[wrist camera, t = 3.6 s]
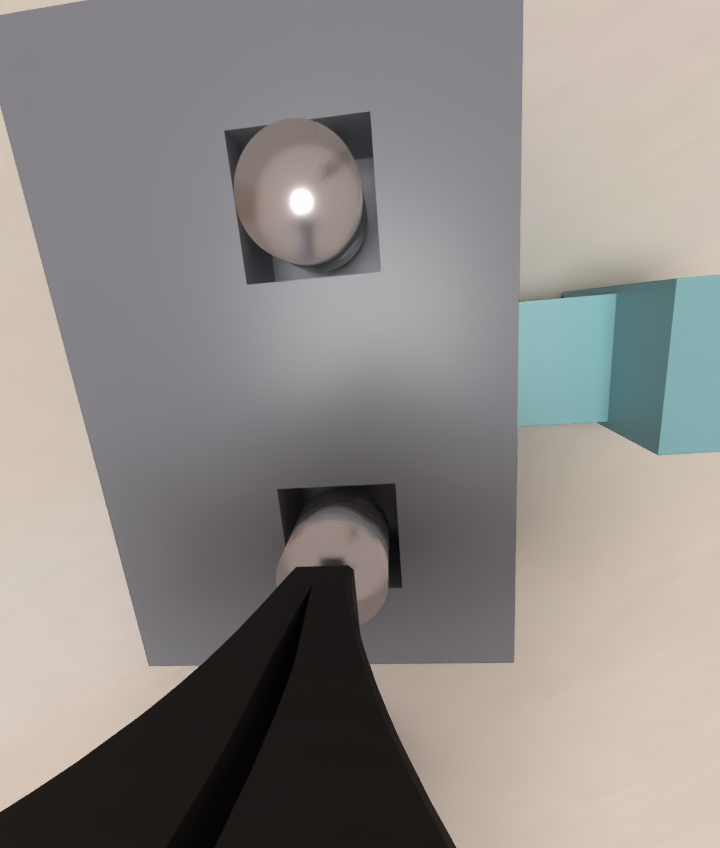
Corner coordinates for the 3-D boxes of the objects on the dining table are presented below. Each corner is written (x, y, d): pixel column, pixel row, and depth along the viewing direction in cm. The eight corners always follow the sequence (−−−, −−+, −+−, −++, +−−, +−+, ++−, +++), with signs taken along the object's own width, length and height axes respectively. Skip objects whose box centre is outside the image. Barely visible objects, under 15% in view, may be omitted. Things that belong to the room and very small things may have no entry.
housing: (479, 564, 18) (513, 662, 13) (213, 572, 19) (148, 665, 14) (473, 73, 13) (523, -73, 8) (122, 122, 14) (-23, 19, 9)
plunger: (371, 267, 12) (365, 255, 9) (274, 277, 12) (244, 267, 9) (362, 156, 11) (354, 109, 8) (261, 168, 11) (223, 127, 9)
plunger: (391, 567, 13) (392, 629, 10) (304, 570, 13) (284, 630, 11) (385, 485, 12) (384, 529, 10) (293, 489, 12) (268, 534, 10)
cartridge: (642, 396, 15) (795, 447, 10) (252, 422, 17) (178, 480, 11) (653, 284, 14) (831, 264, 8) (236, 321, 16) (146, 325, 10)
